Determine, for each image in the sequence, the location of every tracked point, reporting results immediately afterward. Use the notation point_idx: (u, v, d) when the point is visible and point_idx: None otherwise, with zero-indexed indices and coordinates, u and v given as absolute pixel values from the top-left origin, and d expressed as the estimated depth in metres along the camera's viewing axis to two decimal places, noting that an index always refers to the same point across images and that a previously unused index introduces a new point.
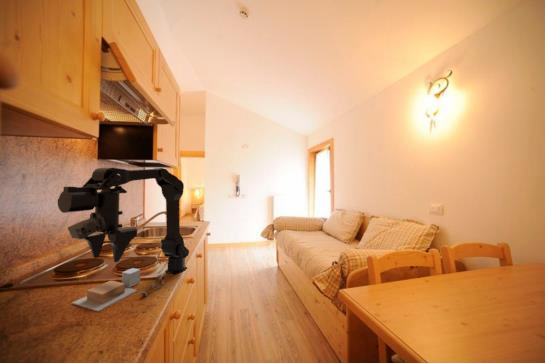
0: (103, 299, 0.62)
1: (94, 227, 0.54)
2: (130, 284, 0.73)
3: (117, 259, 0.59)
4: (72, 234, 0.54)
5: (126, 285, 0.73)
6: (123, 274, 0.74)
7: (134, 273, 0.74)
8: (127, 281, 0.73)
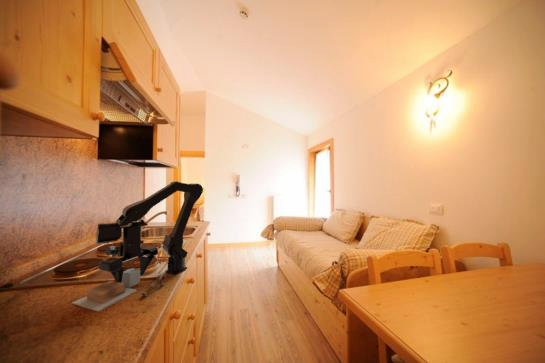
0: (103, 299, 0.62)
1: (109, 251, 0.73)
2: (130, 284, 0.73)
3: None
4: None
5: (126, 285, 0.73)
6: (123, 274, 0.74)
7: (134, 273, 0.74)
8: (127, 281, 0.73)
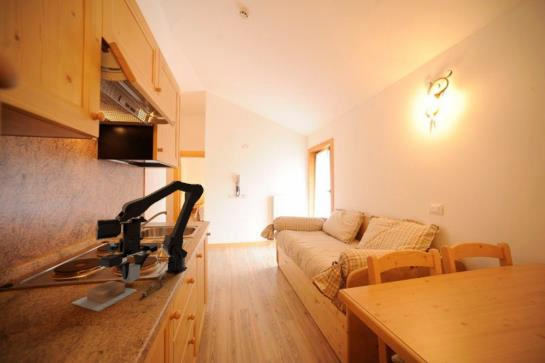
0: (103, 299, 0.62)
1: (108, 248, 0.73)
2: (129, 279, 0.73)
3: (123, 277, 0.73)
4: None
5: (126, 280, 0.73)
6: None
7: (134, 268, 0.74)
8: (127, 276, 0.73)
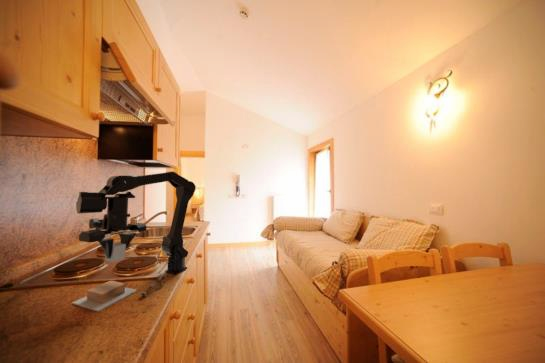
0: (103, 299, 0.62)
1: (92, 224, 0.68)
2: (113, 258, 0.67)
3: (107, 256, 0.67)
4: None
5: (109, 259, 0.67)
6: None
7: (119, 247, 0.69)
8: (111, 255, 0.67)
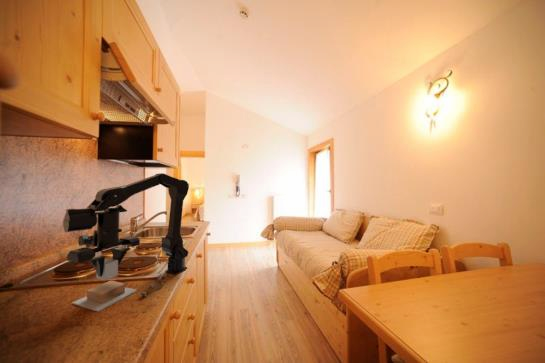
0: (103, 299, 0.62)
1: (81, 241, 0.64)
2: (105, 276, 0.64)
3: (98, 274, 0.64)
4: None
5: (101, 277, 0.64)
6: None
7: (110, 264, 0.66)
8: None
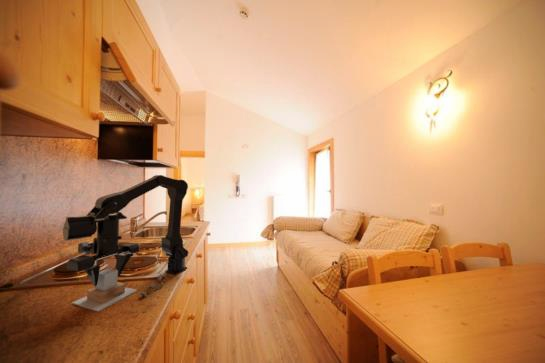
0: (103, 299, 0.62)
1: (81, 248, 0.64)
2: (104, 287, 0.64)
3: (93, 283, 0.63)
4: None
5: (100, 288, 0.64)
6: None
7: (110, 274, 0.66)
8: (102, 283, 0.64)
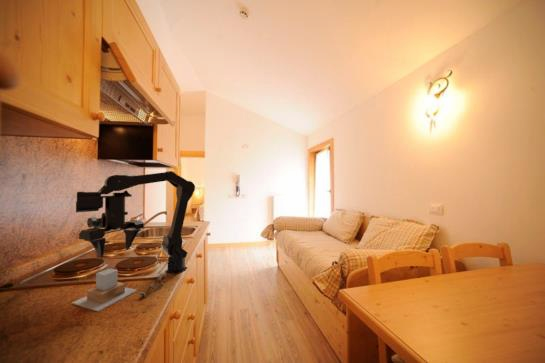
0: (103, 299, 0.62)
1: (90, 222, 0.69)
2: (104, 287, 0.64)
3: (99, 255, 0.67)
4: None
5: (100, 288, 0.64)
6: (97, 275, 0.65)
7: (110, 274, 0.66)
8: (102, 283, 0.64)
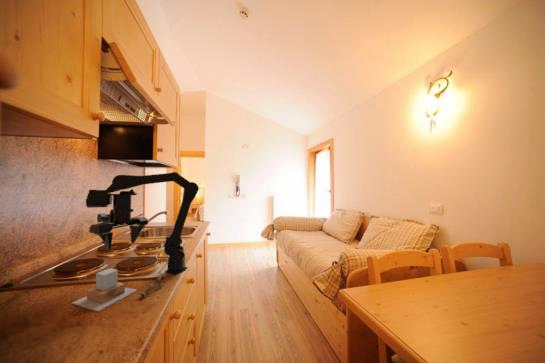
0: (103, 299, 0.62)
1: (99, 218, 0.76)
2: (104, 287, 0.64)
3: (107, 248, 0.74)
4: None
5: (100, 288, 0.64)
6: (97, 275, 0.65)
7: (110, 274, 0.66)
8: (102, 283, 0.64)
